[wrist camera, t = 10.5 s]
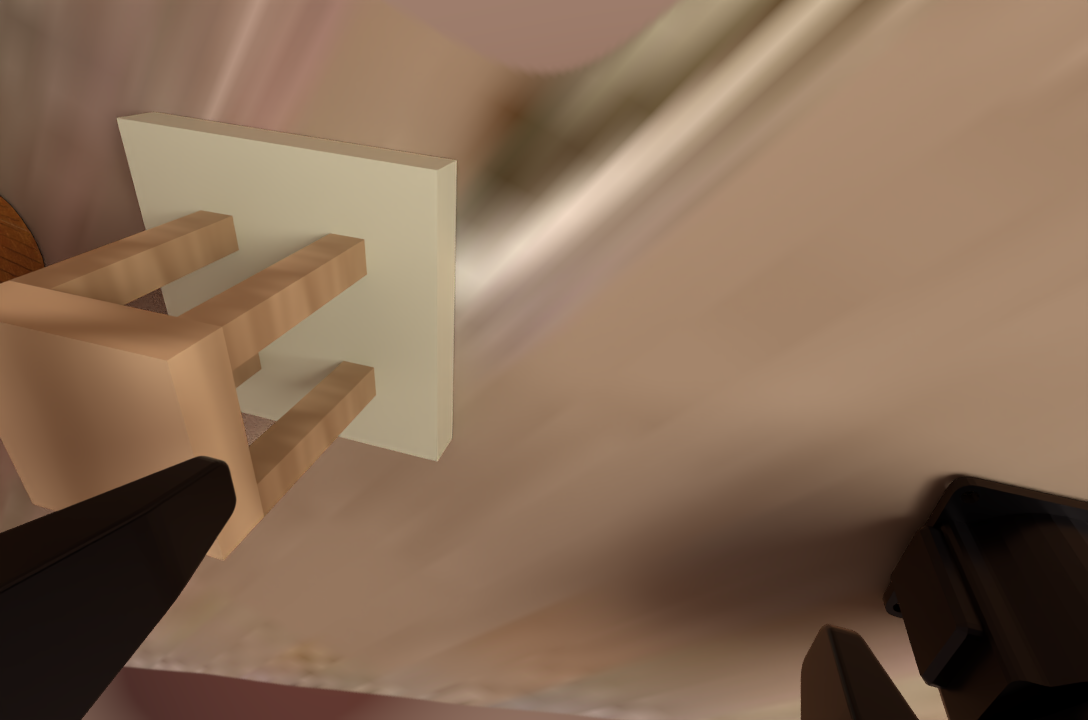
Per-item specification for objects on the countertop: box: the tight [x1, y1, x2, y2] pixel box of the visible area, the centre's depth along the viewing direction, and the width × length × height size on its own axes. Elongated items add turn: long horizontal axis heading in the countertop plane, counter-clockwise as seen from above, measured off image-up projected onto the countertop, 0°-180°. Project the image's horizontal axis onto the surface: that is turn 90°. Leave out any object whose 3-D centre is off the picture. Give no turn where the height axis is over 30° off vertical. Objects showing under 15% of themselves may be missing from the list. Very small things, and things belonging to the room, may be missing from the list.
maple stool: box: [0, 210, 376, 560], centre depth 18 cm, size 6×6×8 cm
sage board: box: [117, 112, 457, 462], centre depth 22 cm, size 11×11×2 cm
